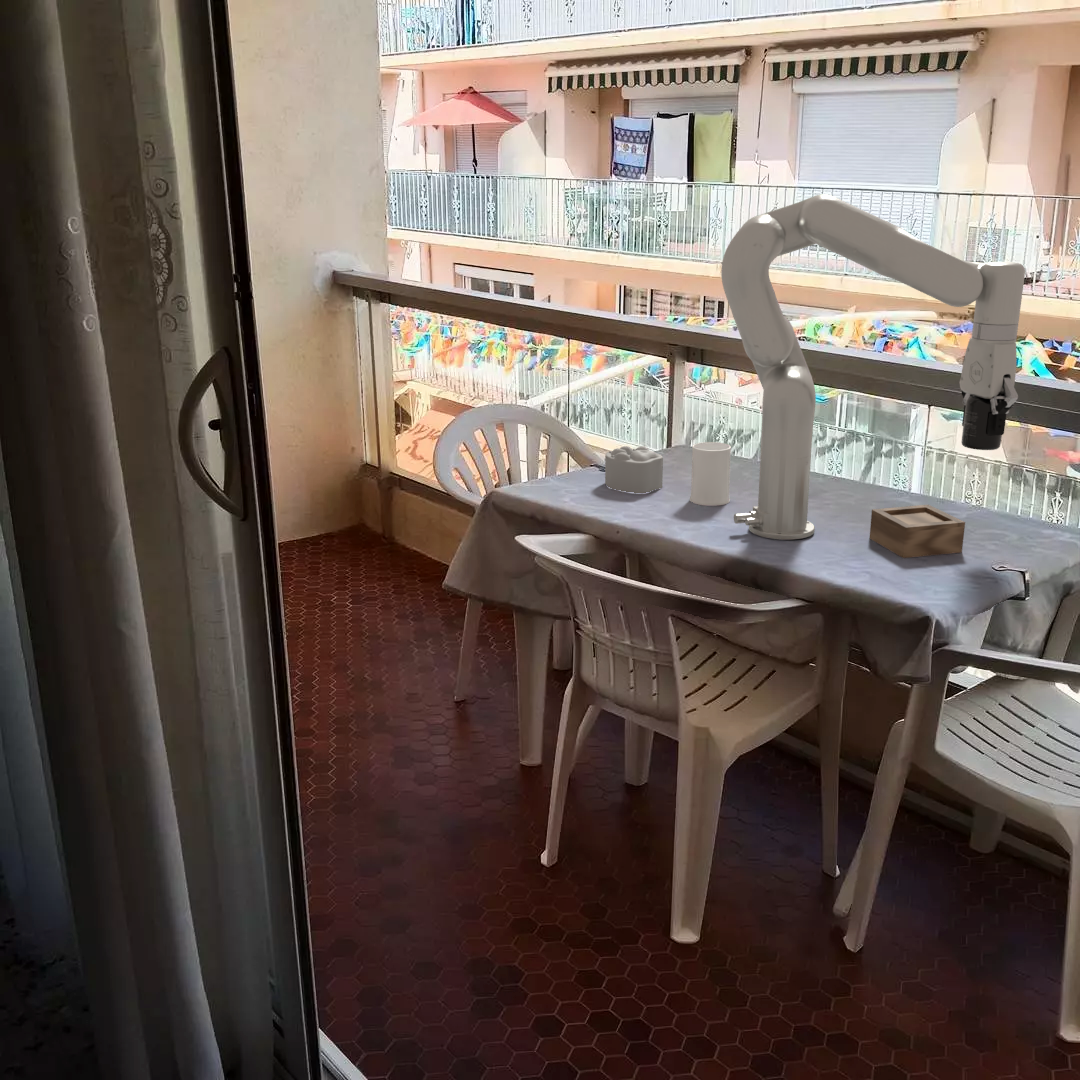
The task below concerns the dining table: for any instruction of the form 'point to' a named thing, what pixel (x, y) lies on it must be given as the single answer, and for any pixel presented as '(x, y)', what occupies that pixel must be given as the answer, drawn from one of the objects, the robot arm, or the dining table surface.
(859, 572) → the dining table surface
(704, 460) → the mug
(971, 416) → the supplement bottle
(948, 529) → the display plinth
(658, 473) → the lumpy-topped squat cylinder
